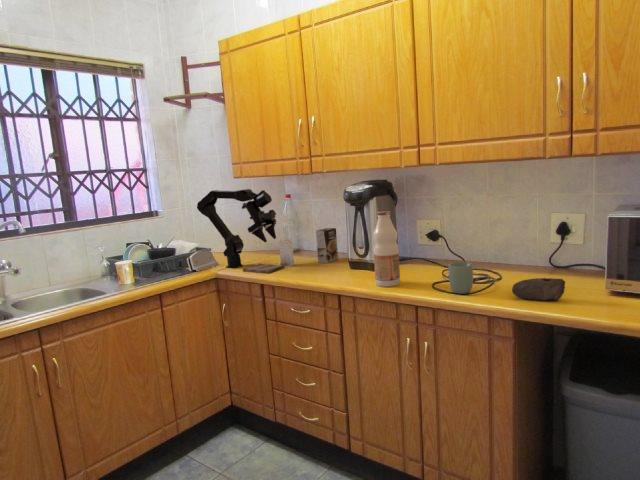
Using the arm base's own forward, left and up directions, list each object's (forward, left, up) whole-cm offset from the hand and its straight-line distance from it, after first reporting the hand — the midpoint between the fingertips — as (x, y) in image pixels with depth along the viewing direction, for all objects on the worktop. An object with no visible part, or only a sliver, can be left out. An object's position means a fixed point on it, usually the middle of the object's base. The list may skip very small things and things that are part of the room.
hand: (270, 240), depth 218 cm
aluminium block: (+5, +5, -13) cm, 15 cm away
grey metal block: (-38, -12, -14) cm, 42 cm away
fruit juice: (+68, -11, -14) cm, 70 cm away
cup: (+97, -13, -14) cm, 99 cm away
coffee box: (+20, +19, -14) cm, 31 cm away
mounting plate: (-1, -6, -13) cm, 15 cm away
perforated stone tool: (+121, -13, -14) cm, 122 cm away
